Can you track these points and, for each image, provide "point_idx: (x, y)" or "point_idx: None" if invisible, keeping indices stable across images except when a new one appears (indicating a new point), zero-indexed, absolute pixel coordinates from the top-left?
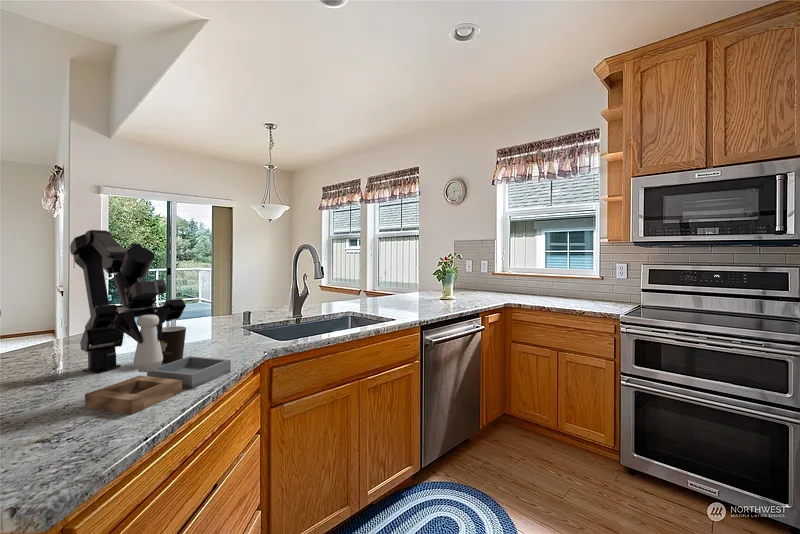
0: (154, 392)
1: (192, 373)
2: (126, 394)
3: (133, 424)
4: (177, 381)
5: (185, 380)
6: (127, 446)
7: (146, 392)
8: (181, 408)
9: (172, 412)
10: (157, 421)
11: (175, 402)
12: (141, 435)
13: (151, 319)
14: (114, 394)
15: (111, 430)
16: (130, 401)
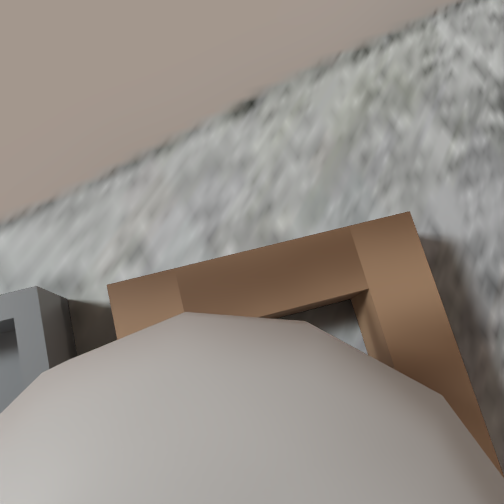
0: (288, 242)
1: (10, 314)
2: (391, 319)
3: (421, 136)
4: (133, 288)
5: (58, 338)
6: (494, 4)
7: (319, 260)
8: (244, 123)
9: (286, 117)
10: (359, 89)
11: (218, 203)
12: (440, 35)
13: (272, 321)
14: (428, 374)
15: (487, 153)
16: (410, 221)
